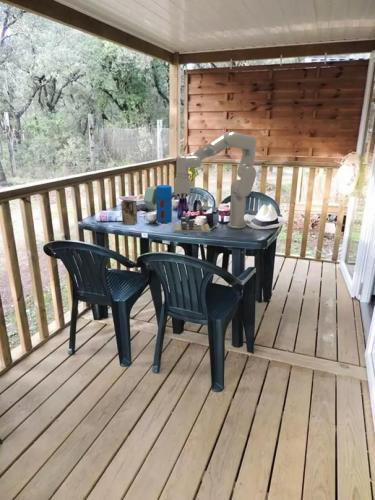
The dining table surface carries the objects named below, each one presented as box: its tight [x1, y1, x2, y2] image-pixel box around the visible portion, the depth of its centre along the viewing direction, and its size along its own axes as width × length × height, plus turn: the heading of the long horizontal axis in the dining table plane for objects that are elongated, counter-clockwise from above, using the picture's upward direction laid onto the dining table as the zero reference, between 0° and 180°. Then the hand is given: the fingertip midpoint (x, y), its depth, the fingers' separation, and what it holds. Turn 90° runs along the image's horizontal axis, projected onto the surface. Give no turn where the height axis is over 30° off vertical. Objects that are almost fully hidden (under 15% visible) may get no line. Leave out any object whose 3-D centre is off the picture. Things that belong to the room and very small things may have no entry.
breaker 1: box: [180, 216, 187, 224], centre depth 241 cm, size 3×2×4 cm
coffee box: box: [120, 199, 138, 226], centre depth 245 cm, size 9×6×16 cm
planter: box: [143, 185, 157, 211], centre depth 285 cm, size 17×8×21 cm
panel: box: [172, 222, 211, 234], centre depth 237 cm, size 24×16×2 cm, turn 94°
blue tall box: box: [156, 184, 173, 224], centre depth 250 cm, size 11×11×25 cm
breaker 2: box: [182, 222, 187, 229], centre depth 230 cm, size 3×2×4 cm
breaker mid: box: [188, 219, 195, 227], centre depth 235 cm, size 3×2×4 cm
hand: (182, 204), depth 230 cm, fingers closed
